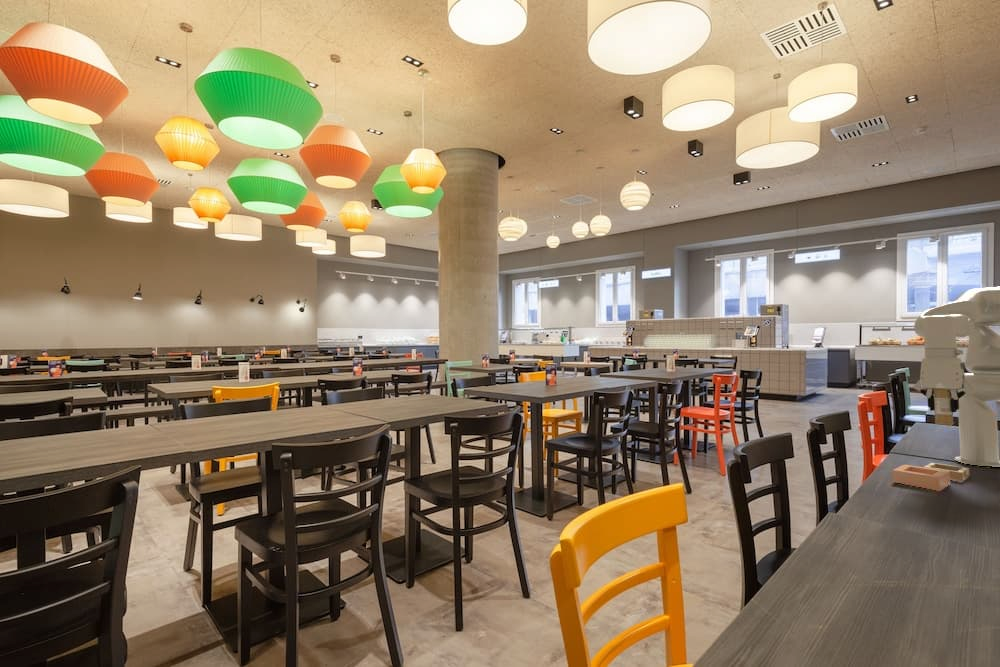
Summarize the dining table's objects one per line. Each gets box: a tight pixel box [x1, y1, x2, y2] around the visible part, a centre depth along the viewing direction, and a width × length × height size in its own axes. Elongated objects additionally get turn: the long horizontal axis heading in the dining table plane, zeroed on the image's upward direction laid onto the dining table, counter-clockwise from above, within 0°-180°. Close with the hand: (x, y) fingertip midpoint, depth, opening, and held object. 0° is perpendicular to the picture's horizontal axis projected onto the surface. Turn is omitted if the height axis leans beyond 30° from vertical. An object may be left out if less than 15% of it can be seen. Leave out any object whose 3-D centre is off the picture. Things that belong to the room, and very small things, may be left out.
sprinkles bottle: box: [933, 383, 955, 426], centre depth 152 cm, size 5×5×13 cm
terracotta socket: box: [892, 463, 951, 492], centre depth 144 cm, size 11×11×4 cm
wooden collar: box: [923, 462, 971, 483], centre depth 151 cm, size 9×9×3 cm
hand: (943, 410), depth 152 cm, fingers closed on sprinkles bottle, 4 cm apart
